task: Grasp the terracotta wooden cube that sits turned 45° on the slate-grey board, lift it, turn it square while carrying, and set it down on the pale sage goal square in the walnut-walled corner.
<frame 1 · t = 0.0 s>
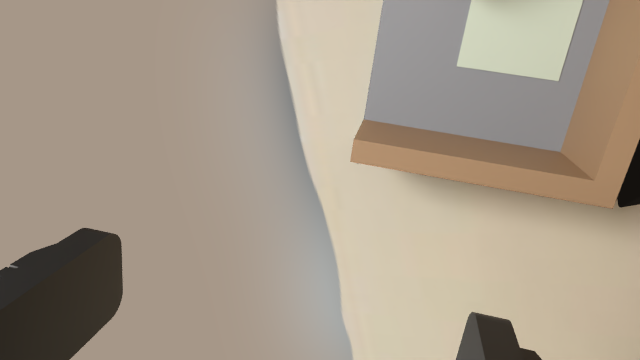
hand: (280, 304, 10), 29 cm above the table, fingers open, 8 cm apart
arena: (498, 11, 34), on the table
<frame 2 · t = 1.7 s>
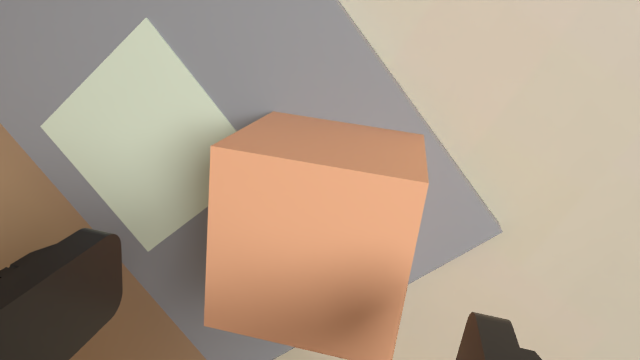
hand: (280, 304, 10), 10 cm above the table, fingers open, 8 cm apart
cube: (336, 193, 19), point 1 cm above the table, touching arena
arena: (189, 129, 20), on the table
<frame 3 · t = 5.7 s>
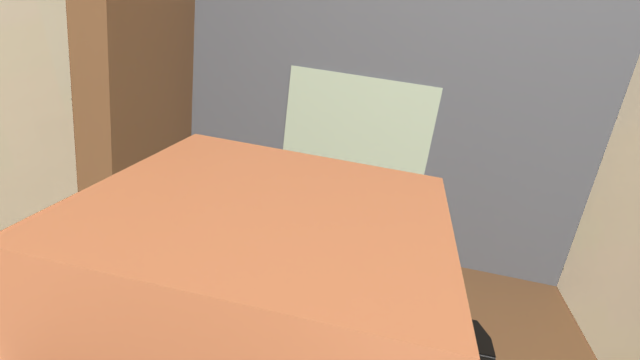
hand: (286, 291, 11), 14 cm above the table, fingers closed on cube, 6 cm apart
cube: (300, 265, 12), point 13 cm above the table, touching gripper
arena: (370, 118, 23), on the table
when the fingers open (4 cm above the table, at t = 8.5 s): cube drops 1 cm, resting on arena.
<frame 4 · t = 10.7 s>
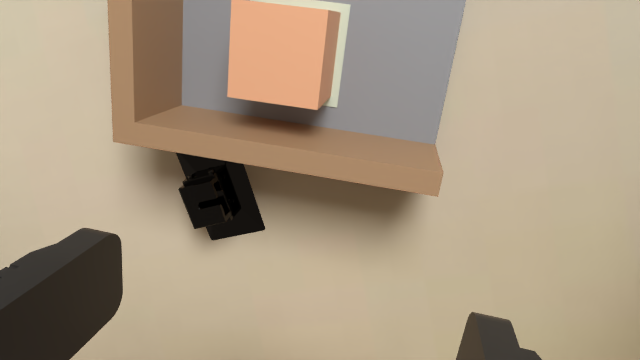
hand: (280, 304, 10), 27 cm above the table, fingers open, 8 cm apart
black notched block: (223, 185, 40), on the table
cube: (296, 50, 34), point 1 cm above the table, touching arena
arena: (306, 31, 34), on the table
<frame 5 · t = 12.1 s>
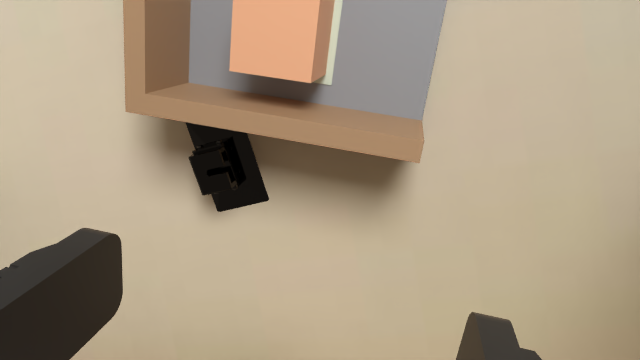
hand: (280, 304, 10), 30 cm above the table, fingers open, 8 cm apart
black notched block: (230, 158, 43), on the table
cube: (294, 31, 37), point 1 cm above the table, touching arena
arena: (303, 14, 37), on the table
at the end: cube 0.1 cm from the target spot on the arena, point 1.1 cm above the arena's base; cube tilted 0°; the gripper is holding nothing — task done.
